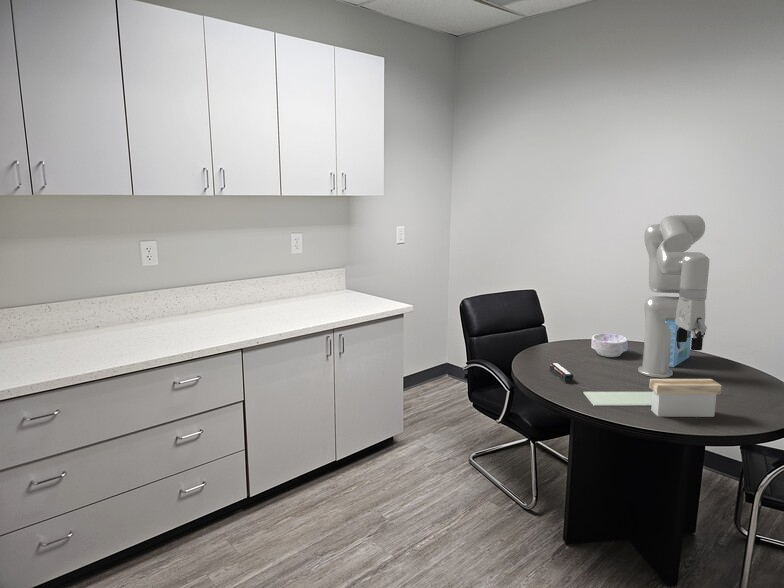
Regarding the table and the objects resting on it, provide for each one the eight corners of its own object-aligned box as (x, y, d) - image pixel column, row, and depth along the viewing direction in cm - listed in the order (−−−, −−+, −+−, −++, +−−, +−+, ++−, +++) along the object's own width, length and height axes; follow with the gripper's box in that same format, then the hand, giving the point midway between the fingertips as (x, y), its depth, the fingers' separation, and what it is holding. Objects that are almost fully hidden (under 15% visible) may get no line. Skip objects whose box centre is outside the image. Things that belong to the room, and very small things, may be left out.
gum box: (673, 367, 220) (678, 314, 216) (660, 365, 224) (664, 312, 219) (689, 357, 233) (694, 306, 229) (677, 354, 237) (681, 305, 232)
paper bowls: (591, 358, 235) (592, 341, 233) (590, 348, 249) (590, 332, 248) (628, 360, 230) (630, 343, 229) (625, 350, 244) (626, 334, 243)
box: (651, 410, 179) (653, 387, 177) (706, 410, 178) (708, 387, 176) (657, 416, 174) (659, 393, 172) (714, 416, 173) (716, 393, 171)
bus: (556, 388, 202) (557, 378, 201) (532, 367, 226) (532, 358, 225) (592, 386, 203) (593, 375, 203) (565, 365, 228) (565, 356, 227)
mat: (583, 393, 195) (583, 391, 195) (655, 393, 194) (655, 391, 193) (593, 405, 183) (593, 404, 183) (670, 406, 182) (670, 404, 182)
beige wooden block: (649, 387, 178) (649, 378, 177) (710, 387, 177) (711, 378, 176) (657, 394, 172) (657, 385, 171) (720, 394, 171) (721, 385, 170)
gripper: (668, 289, 177) (664, 339, 180) (694, 299, 160) (689, 353, 163) (691, 289, 176) (687, 339, 179) (720, 298, 159) (715, 353, 162)
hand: (688, 345), depth 171 cm, fingers open, 9 cm apart
